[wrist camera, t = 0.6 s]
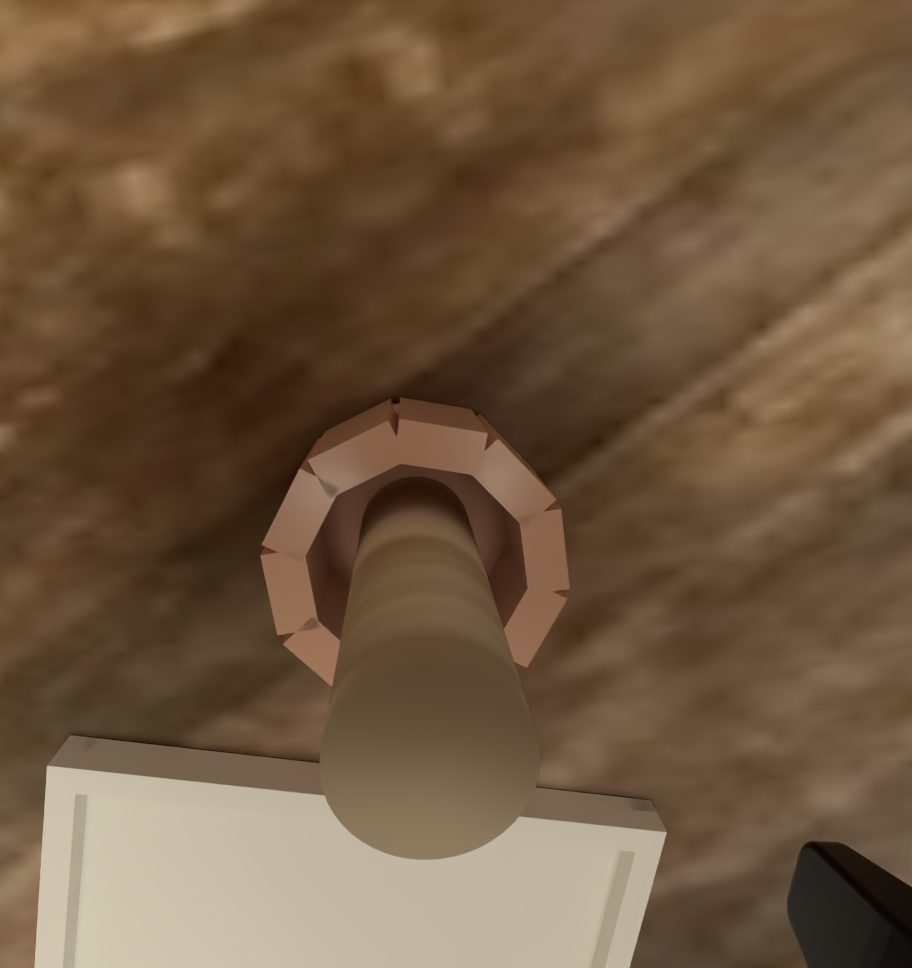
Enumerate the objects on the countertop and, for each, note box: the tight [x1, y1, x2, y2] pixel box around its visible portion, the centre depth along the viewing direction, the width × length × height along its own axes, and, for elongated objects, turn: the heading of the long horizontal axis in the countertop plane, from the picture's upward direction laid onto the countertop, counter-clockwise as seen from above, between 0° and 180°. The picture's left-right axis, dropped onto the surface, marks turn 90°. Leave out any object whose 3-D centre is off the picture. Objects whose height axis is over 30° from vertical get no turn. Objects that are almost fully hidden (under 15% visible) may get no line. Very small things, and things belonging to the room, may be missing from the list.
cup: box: [260, 397, 570, 686], centre depth 19 cm, size 7×7×4 cm
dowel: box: [319, 476, 540, 860], centre depth 15 cm, size 3×3×11 cm
